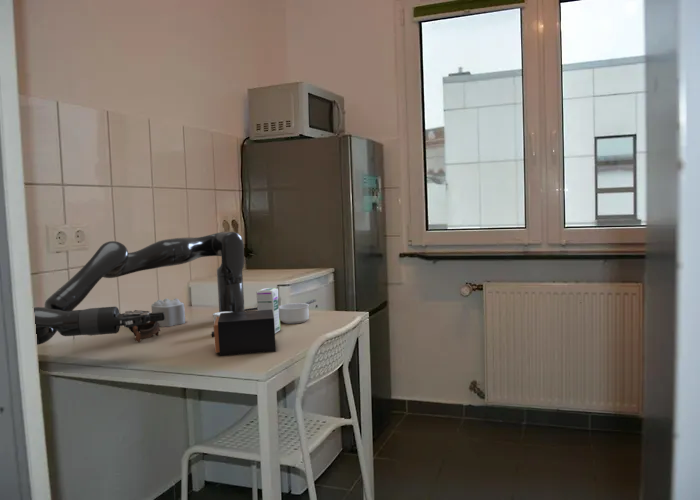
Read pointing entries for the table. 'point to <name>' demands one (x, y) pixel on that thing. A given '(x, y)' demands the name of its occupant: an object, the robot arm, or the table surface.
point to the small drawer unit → (246, 332)
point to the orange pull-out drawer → (216, 335)
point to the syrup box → (269, 304)
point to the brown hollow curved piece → (145, 330)
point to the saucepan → (294, 312)
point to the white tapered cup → (218, 315)
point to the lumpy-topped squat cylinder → (170, 312)
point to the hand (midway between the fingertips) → (164, 316)
